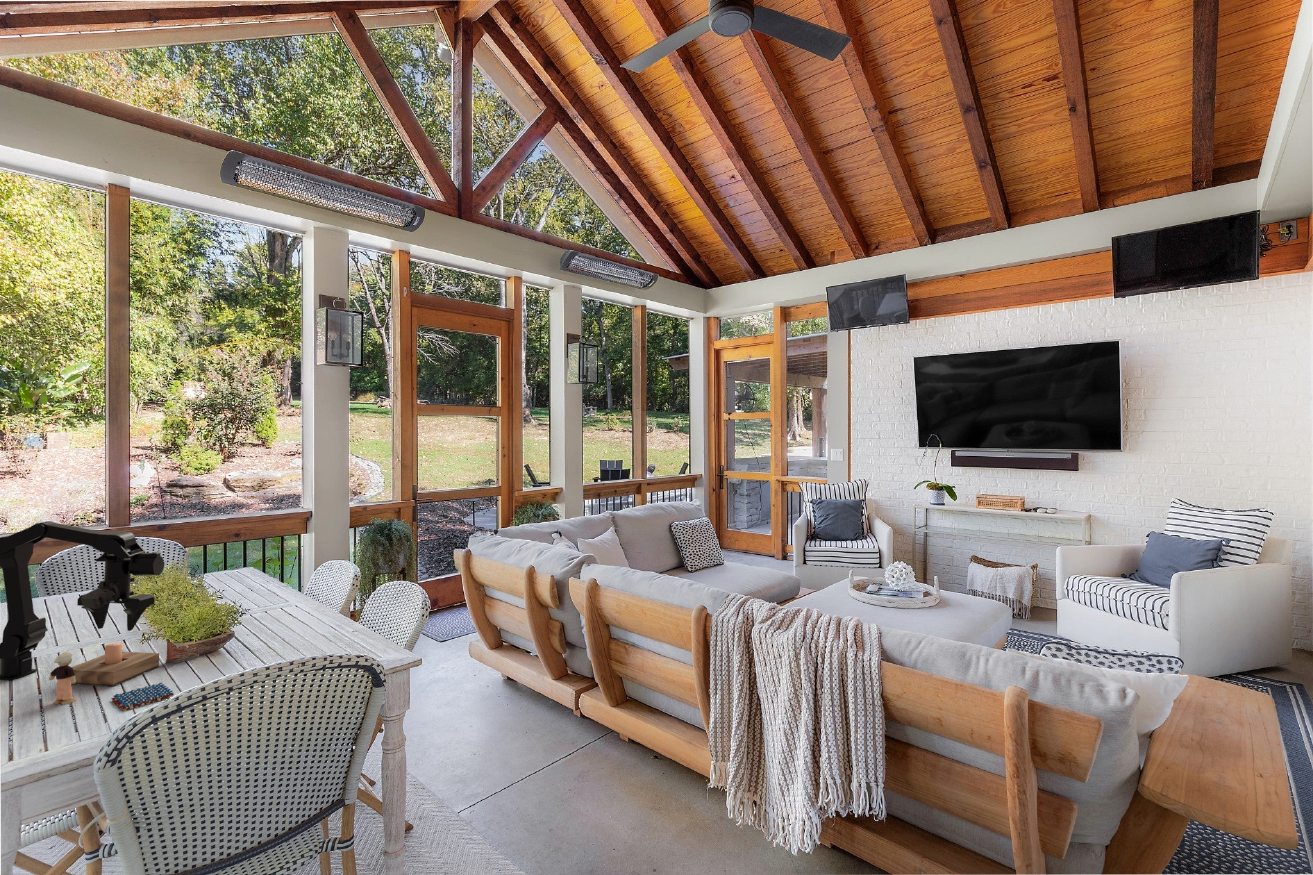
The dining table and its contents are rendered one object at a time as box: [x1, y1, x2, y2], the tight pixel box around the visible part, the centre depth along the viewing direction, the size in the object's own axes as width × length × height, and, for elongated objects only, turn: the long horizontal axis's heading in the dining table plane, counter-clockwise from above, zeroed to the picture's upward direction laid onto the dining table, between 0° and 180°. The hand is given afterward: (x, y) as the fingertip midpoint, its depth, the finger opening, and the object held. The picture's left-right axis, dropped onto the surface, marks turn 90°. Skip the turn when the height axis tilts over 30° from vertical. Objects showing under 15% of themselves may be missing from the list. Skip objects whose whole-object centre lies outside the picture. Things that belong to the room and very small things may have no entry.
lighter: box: [165, 637, 200, 665], centre depth 180 cm, size 8×3×10 cm, turn 141°
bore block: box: [71, 651, 160, 688], centre depth 167 cm, size 14×14×4 cm
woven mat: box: [110, 682, 175, 712], centre depth 153 cm, size 10×11×2 cm
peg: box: [104, 642, 123, 665], centre depth 167 cm, size 4×4×8 cm
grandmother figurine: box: [48, 651, 77, 705], centre depth 151 cm, size 8×4×13 cm, turn 92°
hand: (115, 629), depth 171 cm, fingers open, 9 cm apart
